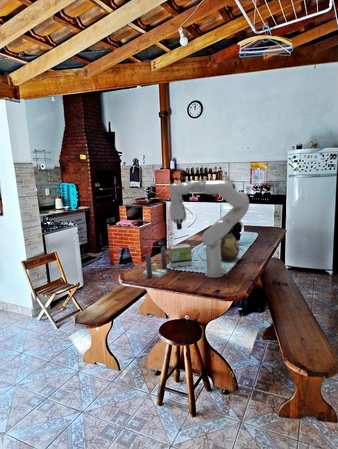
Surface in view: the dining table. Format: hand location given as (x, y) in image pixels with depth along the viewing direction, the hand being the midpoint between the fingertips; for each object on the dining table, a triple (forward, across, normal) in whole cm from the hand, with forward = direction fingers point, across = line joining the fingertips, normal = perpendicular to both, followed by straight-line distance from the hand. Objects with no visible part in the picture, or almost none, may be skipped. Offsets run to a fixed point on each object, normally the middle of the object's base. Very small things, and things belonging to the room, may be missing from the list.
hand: (179, 229), depth 205 cm
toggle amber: (+27, +19, +8) cm, 34 cm away
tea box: (+30, +10, -13) cm, 34 cm away
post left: (+30, +17, +17) cm, 38 cm away
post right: (+30, +16, 0) cm, 34 cm away
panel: (+30, +18, +10) cm, 36 cm away
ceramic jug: (+32, -19, -36) cm, 51 cm away
